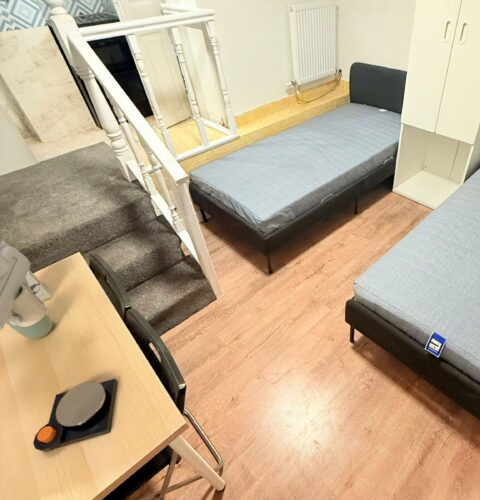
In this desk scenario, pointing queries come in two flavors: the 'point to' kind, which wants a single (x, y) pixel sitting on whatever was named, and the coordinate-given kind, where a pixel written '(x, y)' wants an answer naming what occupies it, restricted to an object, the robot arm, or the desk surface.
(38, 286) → the ink box
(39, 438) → the tare button
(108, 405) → the scale
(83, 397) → the scale pan
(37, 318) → the white cup
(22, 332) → the cup
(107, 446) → the desk surface
